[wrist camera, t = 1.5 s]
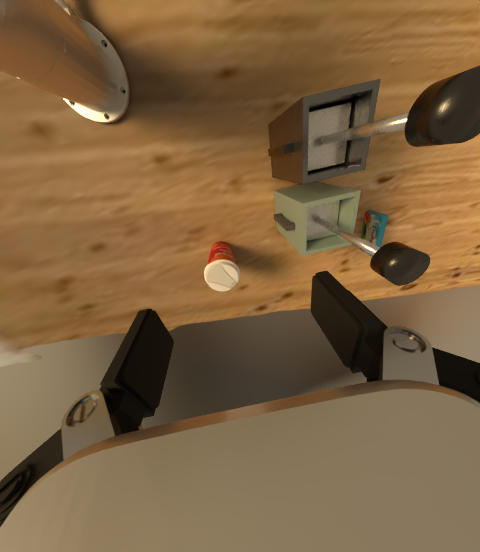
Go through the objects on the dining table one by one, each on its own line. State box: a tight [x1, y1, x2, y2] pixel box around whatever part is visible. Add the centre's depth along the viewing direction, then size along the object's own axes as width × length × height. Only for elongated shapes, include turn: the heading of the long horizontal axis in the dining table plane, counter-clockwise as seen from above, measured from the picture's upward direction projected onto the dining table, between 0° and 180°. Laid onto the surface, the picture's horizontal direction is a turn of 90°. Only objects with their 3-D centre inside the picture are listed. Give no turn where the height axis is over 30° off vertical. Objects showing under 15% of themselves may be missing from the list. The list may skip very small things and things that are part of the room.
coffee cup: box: [204, 242, 240, 291], centre depth 45 cm, size 8×8×15 cm
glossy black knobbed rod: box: [306, 200, 430, 286], centre depth 27 cm, size 8×8×20 cm
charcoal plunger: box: [308, 66, 480, 171], centre depth 20 cm, size 8×8×20 cm
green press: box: [274, 182, 361, 256], centre depth 40 cm, size 10×12×18 cm
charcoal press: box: [268, 79, 380, 184], centre depth 32 cm, size 10×12×18 cm
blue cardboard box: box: [359, 211, 388, 257], centre depth 51 cm, size 12×2×6 cm, turn 12°
